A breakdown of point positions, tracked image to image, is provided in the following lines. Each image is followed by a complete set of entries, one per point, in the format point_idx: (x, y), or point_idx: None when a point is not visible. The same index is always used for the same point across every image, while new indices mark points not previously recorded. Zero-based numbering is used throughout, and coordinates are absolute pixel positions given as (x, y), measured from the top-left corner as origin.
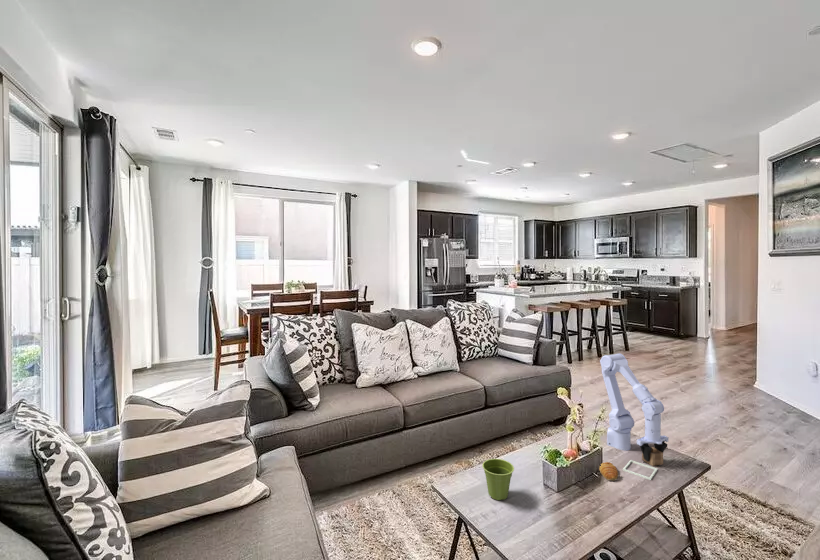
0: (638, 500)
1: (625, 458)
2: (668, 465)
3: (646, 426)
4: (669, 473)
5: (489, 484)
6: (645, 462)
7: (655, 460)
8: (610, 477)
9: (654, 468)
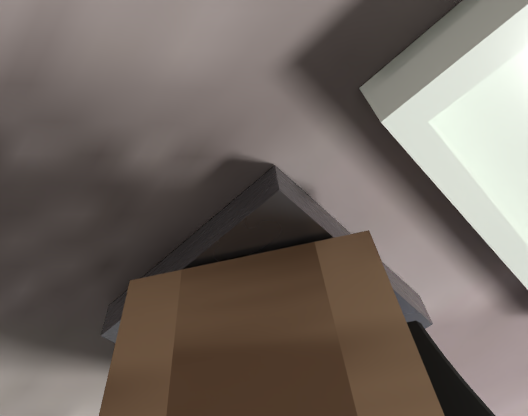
0: None
1: (507, 400)
2: (22, 282)
3: None
4: (137, 34)
5: None
6: None
7: (318, 322)
8: None
9: (434, 133)
